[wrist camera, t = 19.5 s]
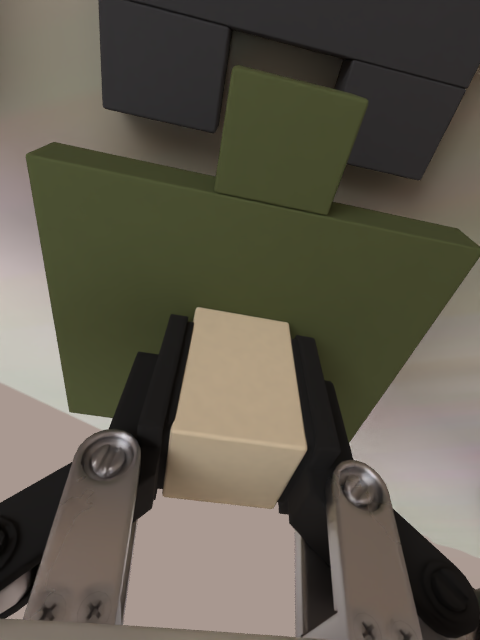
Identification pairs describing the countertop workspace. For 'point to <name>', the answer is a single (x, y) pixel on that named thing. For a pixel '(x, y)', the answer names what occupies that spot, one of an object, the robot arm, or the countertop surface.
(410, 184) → the countertop surface
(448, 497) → the countertop surface
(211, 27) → the base tile
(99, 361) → the olive tile
